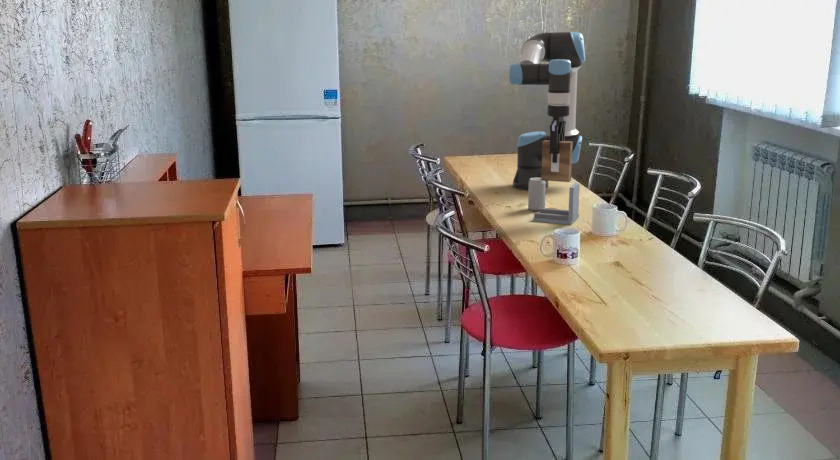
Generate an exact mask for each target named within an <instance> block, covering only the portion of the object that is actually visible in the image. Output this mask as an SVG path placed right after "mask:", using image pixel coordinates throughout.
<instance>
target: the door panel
mask: <svg viewBox="0 0 840 460" xmlns="http://www.w3.org/2000/svg"><path fill="white" fill-rule="evenodd" d="M572 145H573V141H560V142H559V154H560V156H559V172H551V155H552V153H549V152H550V140H544V141H542V174H541V180H545V181H548V182H549V181H550V182H559V183H560V182H563V183H570V182H571V181H572V168H573V166H572V165H573V163H572Z"/></svg>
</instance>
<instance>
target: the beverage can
mask: <svg viewBox="0 0 840 460" xmlns="http://www.w3.org/2000/svg"><path fill="white" fill-rule="evenodd" d="M546 189H547V188H546V182H545V180H541V178H530V181H529V189H528V190H527V191H528V194H527V196H528V198H527V204H528V205H527V207H528V209H529V210H530V211H532V212H540V208H546Z"/></svg>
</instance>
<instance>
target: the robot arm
mask: <svg viewBox="0 0 840 460" xmlns="http://www.w3.org/2000/svg"><path fill="white" fill-rule="evenodd" d="M585 50H586V49H585V40H584V35H583V34H582V33H581V32H577V31H575V32H574V31H559V32H556V31H555V32H541V33H538V34H535V35H533V36H530V37H529V38H528V39H527V40H525V41H524V43H523V44H522V47H521V49H520V58H519V62H516V63H512V64H510V66H509V72H508V75H509V77H508V78H509V84H511V85H516V86H517V85H518V86H548V91H547V93H548V94H546V98H547V103H548V106H547V115H548V116H549V117H552V121H551V122H550V125H549V133H550V134H549V135H547V133H546V132H545V131H531V132H525V133H521V134H520V135H519V136H518V138H517V145H516V147H517V158H516V160H517V163H516V167H517V168H516V172H515V174H514V177H513V180H512V187H513V188H514V189H516V190H517V189H518V190H521V191H522V190H524V191H526V190H527V191H528V189H529V181H530V178H541V174H542V141H544V140H550V152H549V153H552V155H551V172H559V156H560V154H559V142H560V141H573V145H572V164H576V163H577V162H579V158H580V153H581V147H582V140H583V136H582V135H580V131H579V130H578V129H577V128H576V125H577V124H576V121H577V120H576V119H577V118H576V117H577V92H578V90H577V89H578V88H577V87H578V71H579V69H581V68H582V63H584V62H586V52H585ZM541 62H543V63H541ZM544 62H545V63H544ZM577 164H578V163H577ZM545 182H546V189H548V188H549V181H545Z"/></svg>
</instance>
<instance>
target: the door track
mask: <svg viewBox="0 0 840 460" xmlns="http://www.w3.org/2000/svg"><path fill="white" fill-rule="evenodd" d="M580 183H581V182H574V183H572V185H570V186H569V187H568V189H569V190H568V191H569V192H568V196H569V197H568V209H558V208H547V207H545V208H540V211H539V212H534V214H533V216H534V217H533V218H532V222H538V223H549V224H559V225H560V224H561V225H573V224H574V222H576V220H578V219H579V217H580V214H579V211H580V210H579V209H580V208H579V206H580V205H579V204H580V203H579V202H580Z"/></svg>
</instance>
